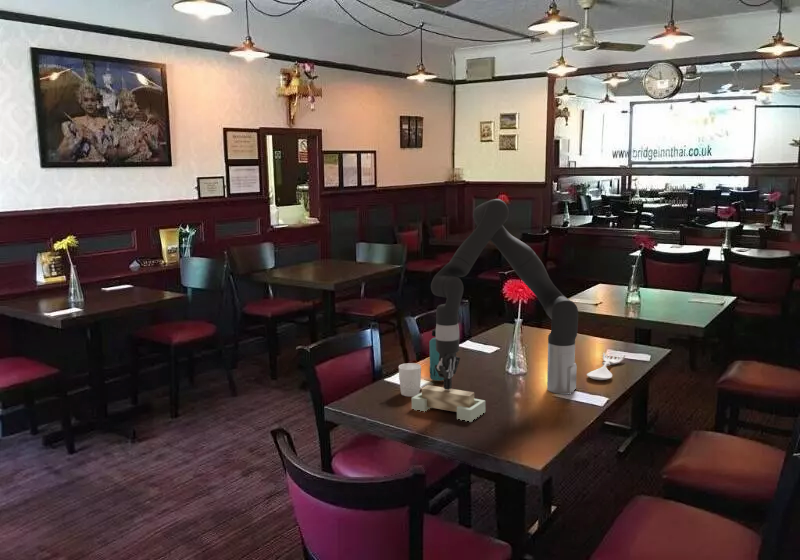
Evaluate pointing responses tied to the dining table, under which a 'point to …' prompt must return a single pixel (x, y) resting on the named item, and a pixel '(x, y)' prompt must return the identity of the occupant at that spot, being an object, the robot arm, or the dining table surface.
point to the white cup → (410, 379)
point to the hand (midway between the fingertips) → (447, 388)
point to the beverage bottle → (434, 358)
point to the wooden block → (447, 398)
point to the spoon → (604, 368)
